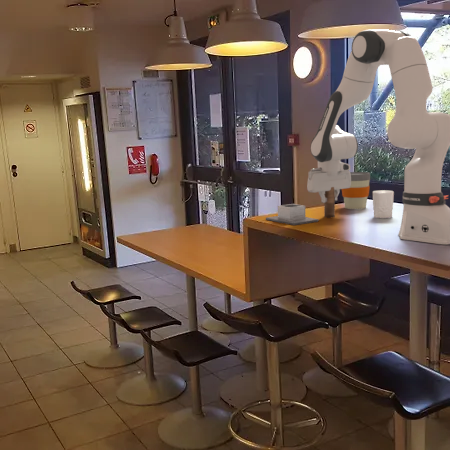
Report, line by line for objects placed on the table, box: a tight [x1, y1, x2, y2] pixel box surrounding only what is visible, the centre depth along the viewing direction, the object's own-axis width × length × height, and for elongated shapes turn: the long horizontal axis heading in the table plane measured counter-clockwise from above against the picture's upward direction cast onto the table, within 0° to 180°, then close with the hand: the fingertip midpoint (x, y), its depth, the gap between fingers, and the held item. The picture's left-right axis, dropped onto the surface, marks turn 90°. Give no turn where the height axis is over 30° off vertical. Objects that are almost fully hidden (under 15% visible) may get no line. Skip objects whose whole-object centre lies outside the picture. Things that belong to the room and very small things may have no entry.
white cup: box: [372, 189, 395, 219], centre depth 216 cm, size 8×8×10 cm
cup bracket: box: [265, 203, 319, 226], centre depth 217 cm, size 18×12×6 cm, turn 32°
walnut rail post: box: [323, 187, 336, 219], centre depth 221 cm, size 4×4×12 cm
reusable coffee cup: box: [341, 171, 371, 210], centre depth 241 cm, size 13×13×15 cm
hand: (329, 201), depth 221 cm, fingers closed on walnut rail post, 4 cm apart
